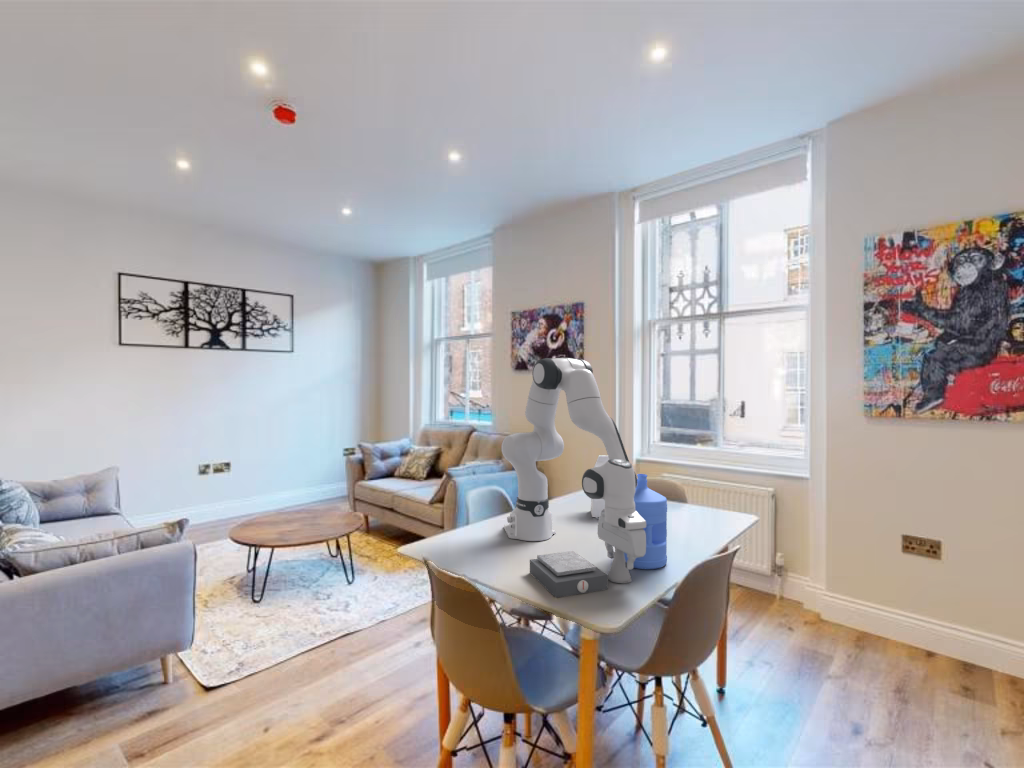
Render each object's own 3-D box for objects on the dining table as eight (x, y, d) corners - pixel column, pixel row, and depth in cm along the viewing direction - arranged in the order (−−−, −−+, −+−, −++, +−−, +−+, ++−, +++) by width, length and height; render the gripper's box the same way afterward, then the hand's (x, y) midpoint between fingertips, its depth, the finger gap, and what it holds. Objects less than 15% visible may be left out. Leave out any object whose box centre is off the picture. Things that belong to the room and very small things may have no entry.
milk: (617, 511, 218) (617, 454, 218) (620, 518, 206) (621, 457, 206) (590, 511, 219) (590, 453, 219) (592, 517, 207) (592, 457, 207)
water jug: (611, 553, 164) (611, 470, 164) (656, 552, 164) (657, 470, 165) (624, 570, 148) (625, 479, 148) (674, 570, 149) (675, 479, 149)
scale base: (529, 572, 146) (529, 559, 146) (576, 566, 151) (576, 553, 151) (556, 598, 128) (556, 583, 128) (608, 590, 134) (609, 575, 134)
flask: (627, 574, 145) (628, 541, 145) (634, 584, 138) (635, 549, 138) (604, 574, 145) (604, 541, 145) (609, 584, 138) (610, 549, 138)
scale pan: (537, 558, 145) (537, 555, 145) (572, 554, 150) (572, 550, 150) (557, 576, 132) (557, 572, 132) (595, 570, 136) (595, 566, 136)
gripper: (592, 508, 150) (592, 553, 150) (630, 525, 131) (630, 576, 131) (610, 506, 152) (610, 550, 152) (650, 523, 133) (650, 573, 133)
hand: (619, 563), depth 141 cm, fingers open, 8 cm apart
